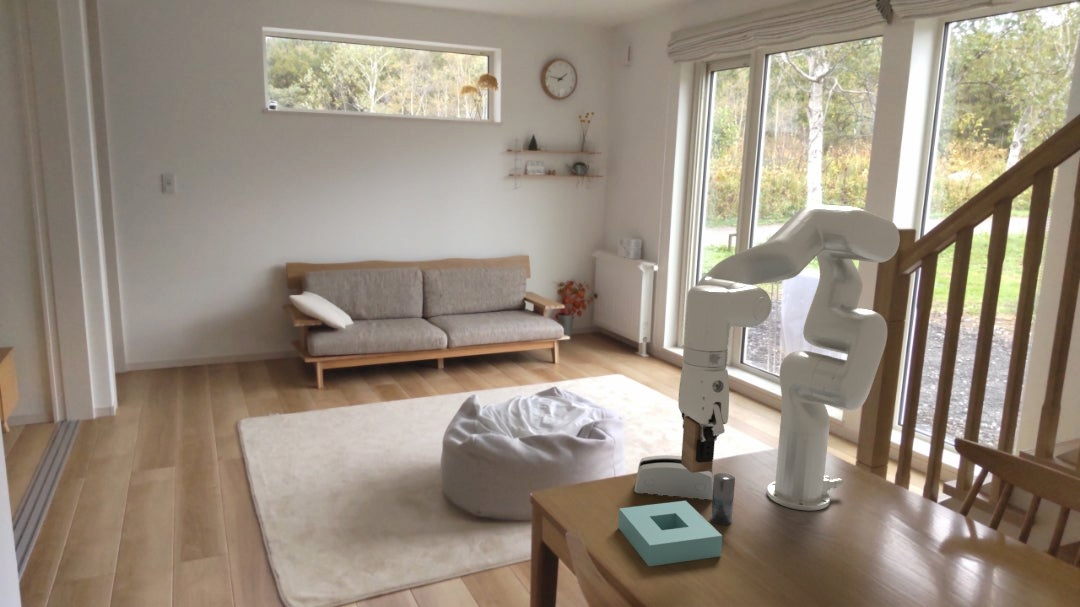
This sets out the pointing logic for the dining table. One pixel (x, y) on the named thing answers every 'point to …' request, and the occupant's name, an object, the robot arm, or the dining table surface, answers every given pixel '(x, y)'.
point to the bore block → (669, 533)
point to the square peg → (692, 447)
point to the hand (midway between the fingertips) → (697, 455)
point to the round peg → (722, 499)
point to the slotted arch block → (672, 478)
